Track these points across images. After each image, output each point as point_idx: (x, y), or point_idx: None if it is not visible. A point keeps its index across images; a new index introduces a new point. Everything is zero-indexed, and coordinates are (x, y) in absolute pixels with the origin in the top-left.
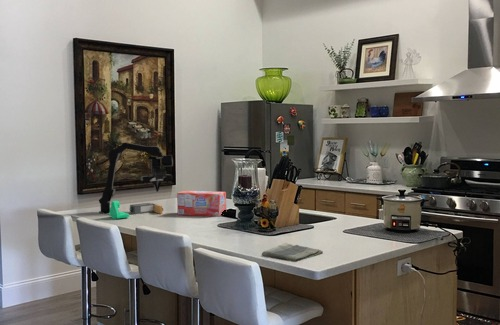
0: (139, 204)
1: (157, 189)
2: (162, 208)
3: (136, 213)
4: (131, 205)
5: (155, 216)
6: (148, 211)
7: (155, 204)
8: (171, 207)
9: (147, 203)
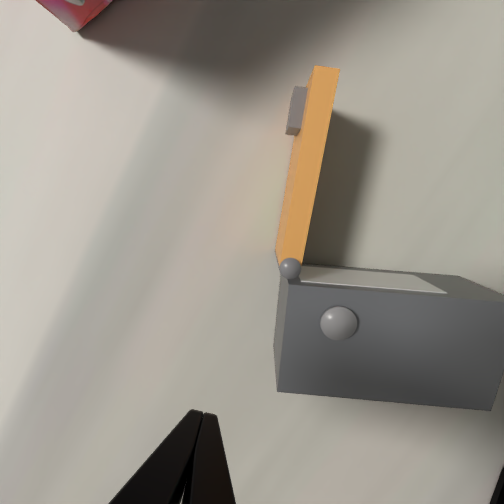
0: (418, 361)
1: (192, 446)
2: (300, 89)
3: (447, 276)
4: (498, 376)
5: (425, 14)
6: (339, 269)
7: (292, 255)
8: (73, 359)
9: (343, 336)
